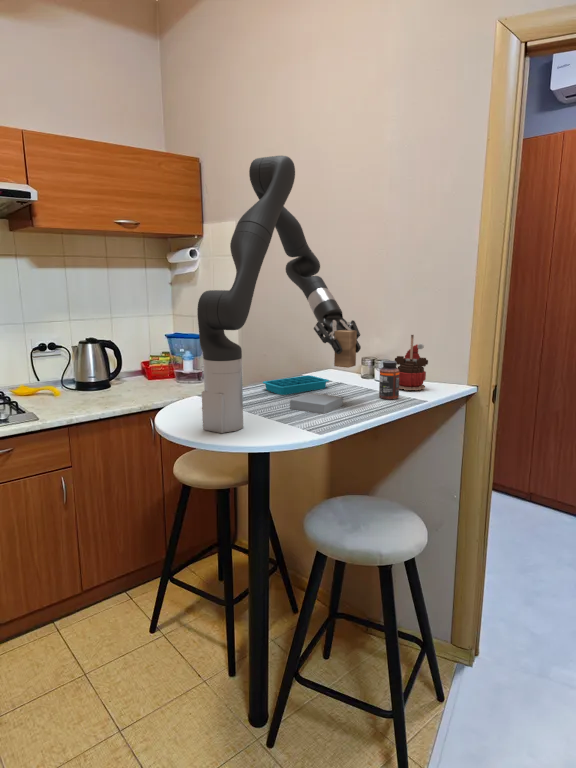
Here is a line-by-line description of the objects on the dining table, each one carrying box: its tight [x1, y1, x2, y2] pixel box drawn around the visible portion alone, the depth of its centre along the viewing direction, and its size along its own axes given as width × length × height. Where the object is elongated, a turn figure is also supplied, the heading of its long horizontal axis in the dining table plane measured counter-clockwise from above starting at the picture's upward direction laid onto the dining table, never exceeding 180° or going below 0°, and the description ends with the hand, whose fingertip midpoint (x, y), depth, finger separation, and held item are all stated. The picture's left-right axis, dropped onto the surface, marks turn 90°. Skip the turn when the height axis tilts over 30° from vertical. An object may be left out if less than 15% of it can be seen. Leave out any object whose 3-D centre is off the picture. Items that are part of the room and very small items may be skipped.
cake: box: [394, 334, 429, 391], centre depth 169 cm, size 11×9×18 cm
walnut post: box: [333, 330, 357, 369], centre depth 146 cm, size 4×4×10 cm
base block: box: [289, 392, 344, 415], centre depth 147 cm, size 11×11×3 cm
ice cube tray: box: [262, 375, 330, 396], centre depth 171 cm, size 12×20×3 cm, turn 126°
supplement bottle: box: [378, 360, 400, 400], centre depth 157 cm, size 6×6×11 cm
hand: (349, 351), depth 145 cm, fingers closed on walnut post, 6 cm apart
